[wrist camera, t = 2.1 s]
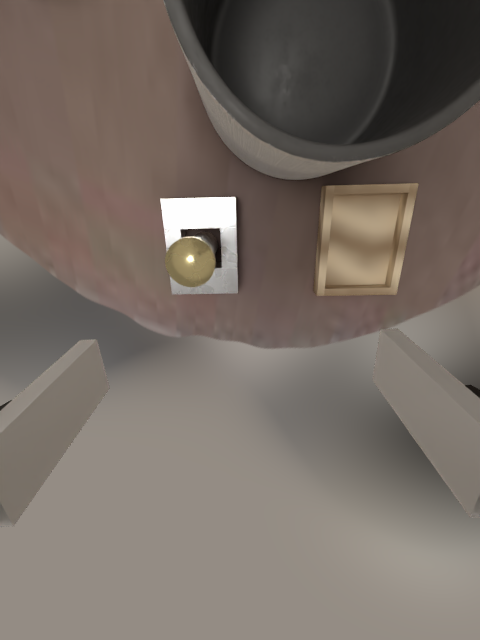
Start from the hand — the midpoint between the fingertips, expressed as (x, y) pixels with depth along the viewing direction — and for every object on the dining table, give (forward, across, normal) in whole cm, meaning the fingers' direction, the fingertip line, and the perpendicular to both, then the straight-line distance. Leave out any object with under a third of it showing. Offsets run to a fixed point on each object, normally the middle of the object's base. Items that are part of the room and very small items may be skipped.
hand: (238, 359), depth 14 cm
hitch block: (+29, -5, +1) cm, 30 cm away
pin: (+29, -5, +1) cm, 30 cm away
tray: (+29, +16, +1) cm, 33 cm away
